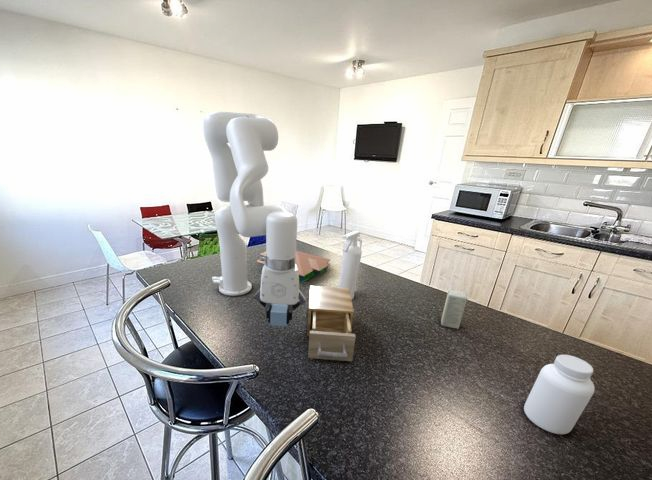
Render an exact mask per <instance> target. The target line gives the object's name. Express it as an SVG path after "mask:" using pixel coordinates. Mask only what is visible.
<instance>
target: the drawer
mask: <svg viewBox="0 0 652 480" xmlns="http://www.w3.org/2000/svg"><path fill="white" fill-rule="evenodd" d="M308 337H309V338H308V352H307V358H308V359H318V360H330V361H340V362H341V361H342V362H353V357H354V351H355V345H356V333H352V329H351V325H350V319H349V314H348V313H335V312H320V311H313V318H312V331H310V335H309V336H308Z"/></svg>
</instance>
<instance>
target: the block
mask: <svg viewBox="0 0 652 480" xmlns="http://www.w3.org/2000/svg"><path fill="white" fill-rule="evenodd" d="M271 305H272V308H271V315H270V323H269V324H270V326H274V327H287V324H286V323H287V309H288V305H285V304H273V303H272V304H271Z"/></svg>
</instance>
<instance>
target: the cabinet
mask: <svg viewBox="0 0 652 480" xmlns="http://www.w3.org/2000/svg"><path fill="white" fill-rule="evenodd" d="M313 311H320V312H335V313H348V314H349V319H350V325H351V330H352V327H353V321H354V313H355V310H354V305H353V301H352V300H351V296H350V291H349V288H341V287H338V286H324V285H323V286H321V285H309V297H308V313H307V329H306V330H307V331H306V337H309V335H310V331H312V318H313Z"/></svg>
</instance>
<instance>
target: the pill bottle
mask: <svg viewBox="0 0 652 480" xmlns="http://www.w3.org/2000/svg"><path fill="white" fill-rule="evenodd" d="M593 373H594V368H593V367H592V365H591V364H590V363H589V362H587V361H585V360H583V359H581V358H580V357H577V356H574V355H569V354H558V355H556V357H555V360H554V362H553V363H548V364H546V365H543V367H542V368H541V369H540V371H539V373H538V375H537V378H536V379H535V381H534V384H533V385H532V388H531V390H530V392H529V394H528V396H527V398H526V401H525V403H524V406H523V411H524V414H525V416H526V417H527V418H528V420H529V421H531V422H532V423H533V424H534V425H535V426H537V427H538V428H541V429H542V430H544V431H546V432H548V433H551V434H556V435H566V434H569V433H570V432H571V431H572V430H573V429H574V427H575V425H576V424H577V422H578V420H579V418H580V417H581V416H582V414H583V412H584V410H585V409H586V407H587V406H588V404H589V402H590V400H591V399H592V396H593V395H594V394H595V384H594V382H593V380H591V377H592V376H593Z"/></svg>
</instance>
